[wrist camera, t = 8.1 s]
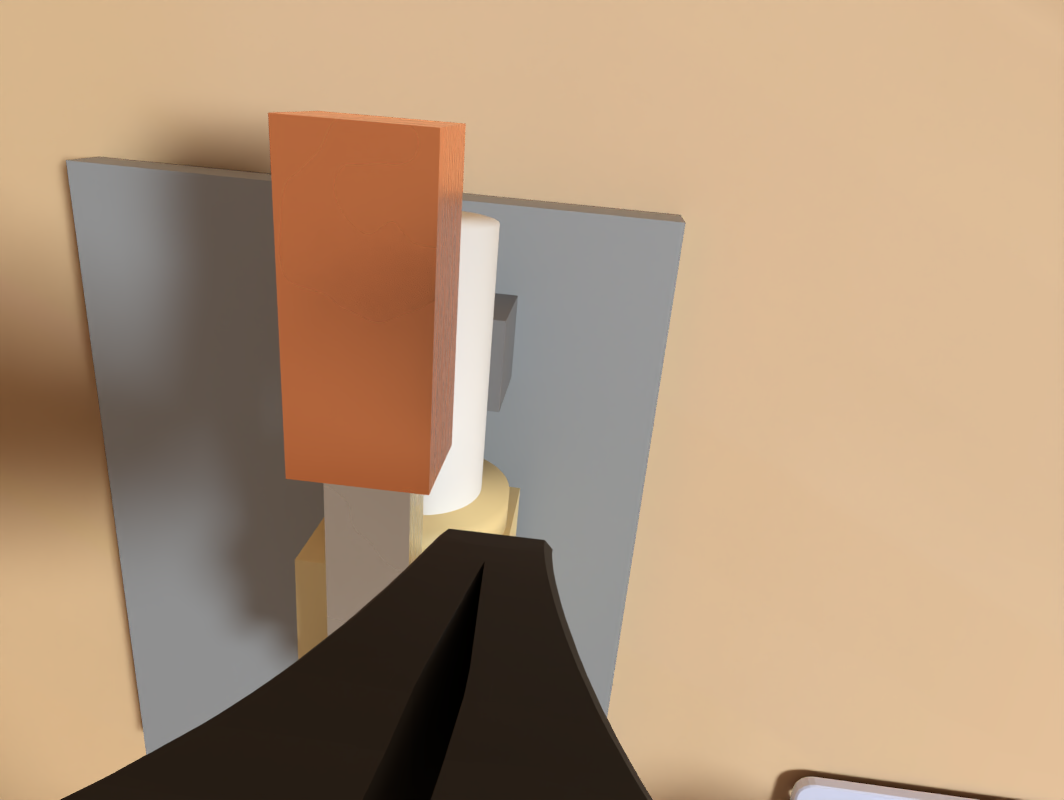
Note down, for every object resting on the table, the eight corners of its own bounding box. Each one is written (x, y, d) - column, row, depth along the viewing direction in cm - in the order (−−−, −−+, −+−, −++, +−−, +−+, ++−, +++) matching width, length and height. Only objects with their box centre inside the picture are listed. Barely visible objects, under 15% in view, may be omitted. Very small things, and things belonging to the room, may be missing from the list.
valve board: (591, 788, 24) (585, 1009, 18) (167, 727, 25) (30, 921, 19) (680, 214, 18) (717, 272, 12) (98, 156, 18) (-144, 183, 12)
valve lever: (443, 745, 16) (424, 823, 14) (329, 730, 16) (296, 805, 14) (472, 124, 11) (447, 128, 9) (311, 110, 11) (260, 112, 10)
